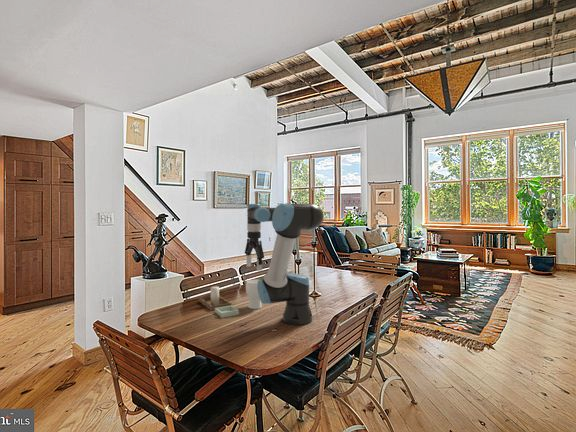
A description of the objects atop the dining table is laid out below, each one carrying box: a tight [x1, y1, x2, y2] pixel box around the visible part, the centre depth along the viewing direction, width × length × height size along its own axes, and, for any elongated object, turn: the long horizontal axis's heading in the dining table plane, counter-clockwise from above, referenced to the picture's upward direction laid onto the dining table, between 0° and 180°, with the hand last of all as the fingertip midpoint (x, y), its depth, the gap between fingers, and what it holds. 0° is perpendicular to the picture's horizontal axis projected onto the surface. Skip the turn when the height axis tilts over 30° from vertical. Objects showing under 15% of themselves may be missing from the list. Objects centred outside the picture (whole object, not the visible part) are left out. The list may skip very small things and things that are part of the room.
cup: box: [245, 279, 263, 310], centre depth 193 cm, size 11×11×15 cm
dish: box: [214, 304, 240, 319], centre depth 181 cm, size 10×10×2 cm
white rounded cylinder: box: [210, 286, 220, 306], centre depth 196 cm, size 5×5×10 cm
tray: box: [198, 295, 232, 312], centre depth 197 cm, size 21×12×3 cm, turn 32°
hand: (254, 268), depth 192 cm, fingers open, 13 cm apart
